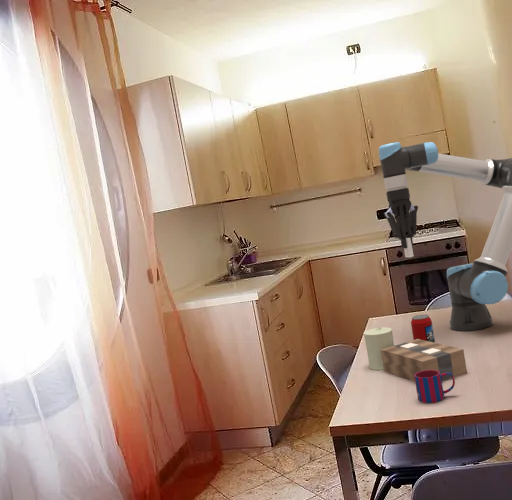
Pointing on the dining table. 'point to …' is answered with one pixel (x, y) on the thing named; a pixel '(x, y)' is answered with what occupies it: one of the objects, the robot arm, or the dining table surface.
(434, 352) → the peg
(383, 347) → the can
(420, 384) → the mug
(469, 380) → the dining table surface
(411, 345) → the peg
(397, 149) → the robot arm
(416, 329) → the beverage can
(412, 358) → the socket block
